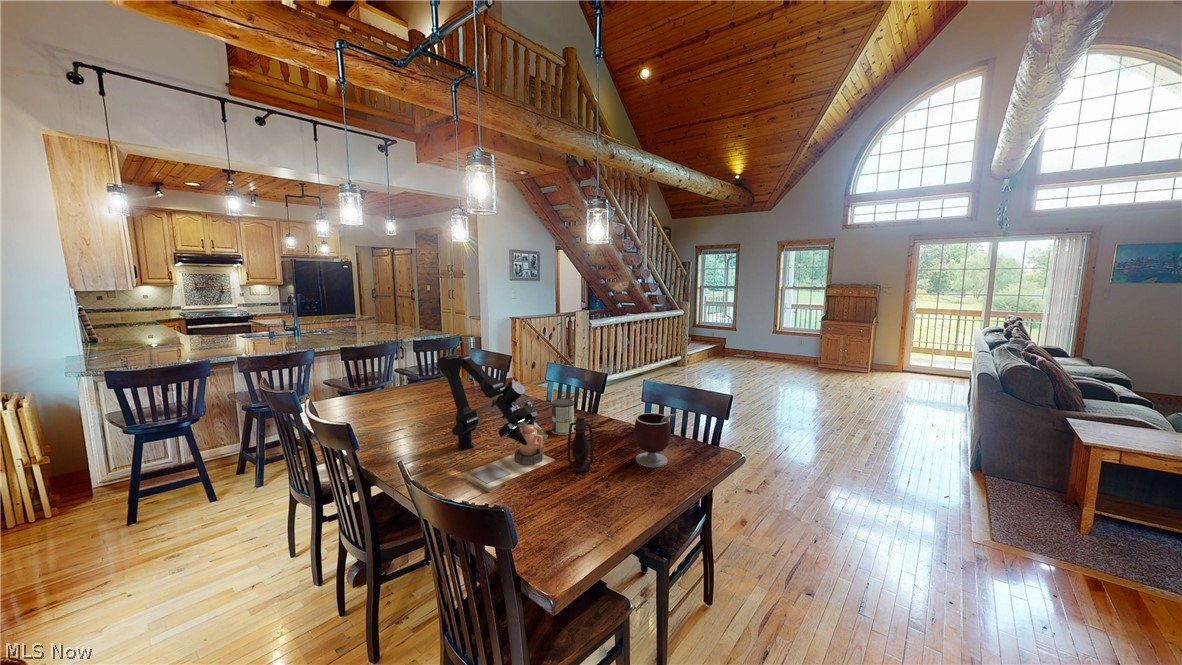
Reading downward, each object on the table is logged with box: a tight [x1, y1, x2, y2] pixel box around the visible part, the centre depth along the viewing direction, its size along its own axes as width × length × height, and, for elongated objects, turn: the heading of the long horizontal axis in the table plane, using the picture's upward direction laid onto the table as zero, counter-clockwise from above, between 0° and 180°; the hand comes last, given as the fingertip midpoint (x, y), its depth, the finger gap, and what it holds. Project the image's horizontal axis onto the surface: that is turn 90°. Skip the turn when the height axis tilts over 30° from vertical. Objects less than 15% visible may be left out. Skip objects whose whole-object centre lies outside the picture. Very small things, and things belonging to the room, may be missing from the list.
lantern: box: [566, 390, 595, 475], centre depth 156 cm, size 8×8×30 cm
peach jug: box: [519, 425, 544, 456], centre depth 161 cm, size 9×6×11 cm
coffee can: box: [551, 398, 575, 436], centre depth 196 cm, size 10×10×14 cm
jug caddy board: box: [462, 447, 556, 493], centre depth 157 cm, size 30×16×4 cm, turn 137°
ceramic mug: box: [521, 421, 549, 441], centre depth 186 cm, size 11×8×8 cm
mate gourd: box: [633, 412, 676, 468], centre depth 164 cm, size 16×14×20 cm
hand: (531, 441), depth 161 cm, fingers closed on peach jug, 6 cm apart
